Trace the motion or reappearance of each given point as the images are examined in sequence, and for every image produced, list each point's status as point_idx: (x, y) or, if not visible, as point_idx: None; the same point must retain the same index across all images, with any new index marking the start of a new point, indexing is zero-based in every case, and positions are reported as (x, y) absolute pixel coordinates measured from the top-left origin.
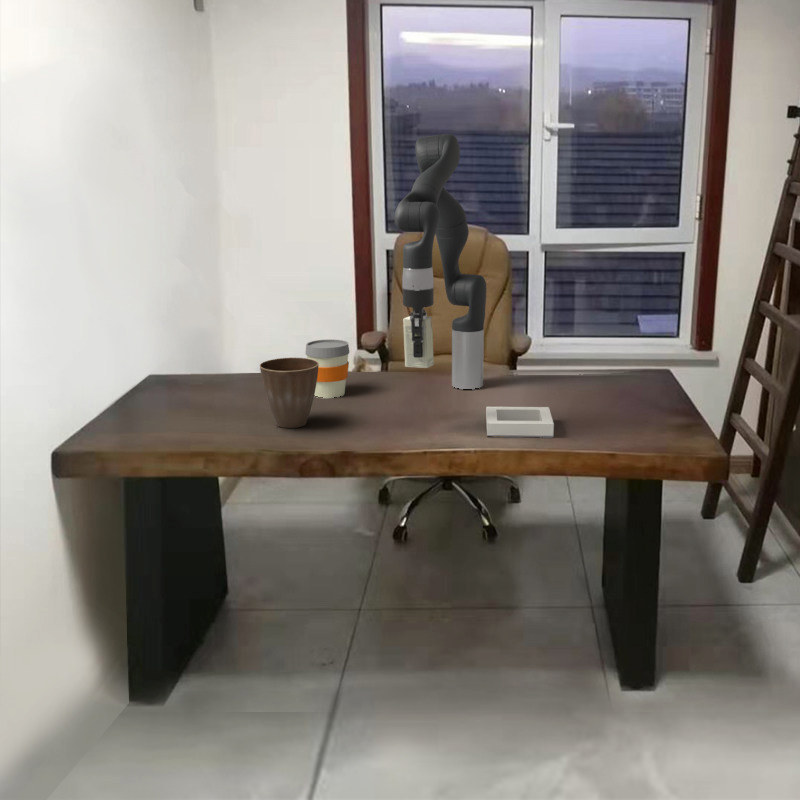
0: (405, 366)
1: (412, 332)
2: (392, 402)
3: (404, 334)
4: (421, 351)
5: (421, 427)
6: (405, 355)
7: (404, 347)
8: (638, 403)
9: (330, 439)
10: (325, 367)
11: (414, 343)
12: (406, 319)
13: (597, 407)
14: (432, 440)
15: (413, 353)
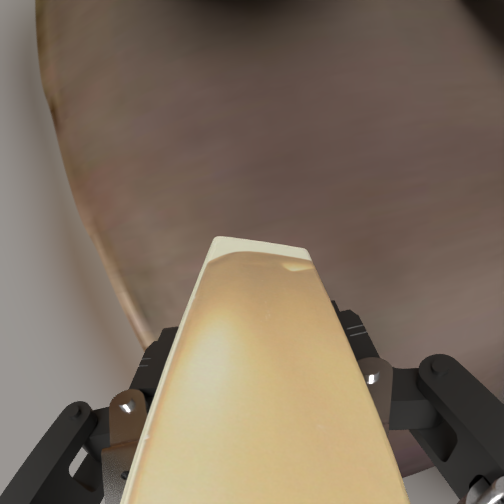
0: (213, 239)
1: (35, 452)
2: (454, 101)
3: (167, 361)
4: None
5: (263, 216)
6: (202, 266)
7: (197, 285)
8: (417, 455)
9: (116, 41)
10: None
11: (144, 390)
12: None
13: (408, 435)
14: (170, 266)
15: (159, 338)
